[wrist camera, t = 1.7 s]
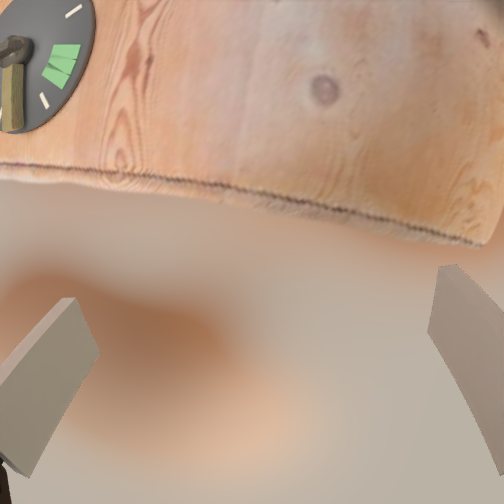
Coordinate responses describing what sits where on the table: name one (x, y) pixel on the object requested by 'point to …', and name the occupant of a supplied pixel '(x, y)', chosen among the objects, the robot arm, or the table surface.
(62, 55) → the dial
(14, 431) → the robot arm
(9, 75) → the needle
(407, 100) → the table surface
